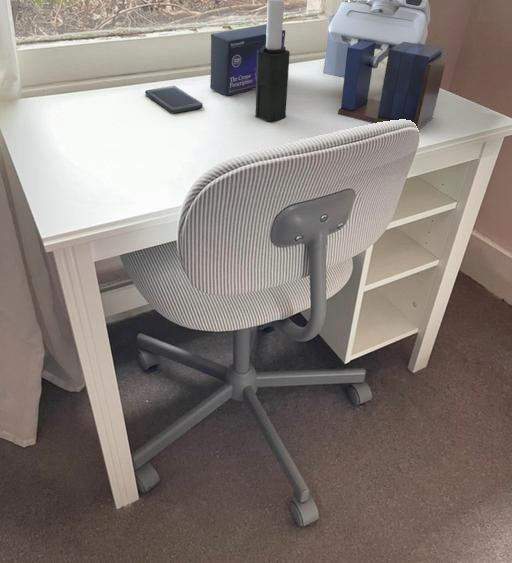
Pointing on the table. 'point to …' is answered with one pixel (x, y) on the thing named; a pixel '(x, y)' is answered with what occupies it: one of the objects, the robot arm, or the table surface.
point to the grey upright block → (335, 55)
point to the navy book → (357, 75)
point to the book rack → (406, 86)
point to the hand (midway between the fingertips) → (362, 64)
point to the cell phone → (173, 99)
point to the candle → (272, 68)
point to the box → (236, 58)
